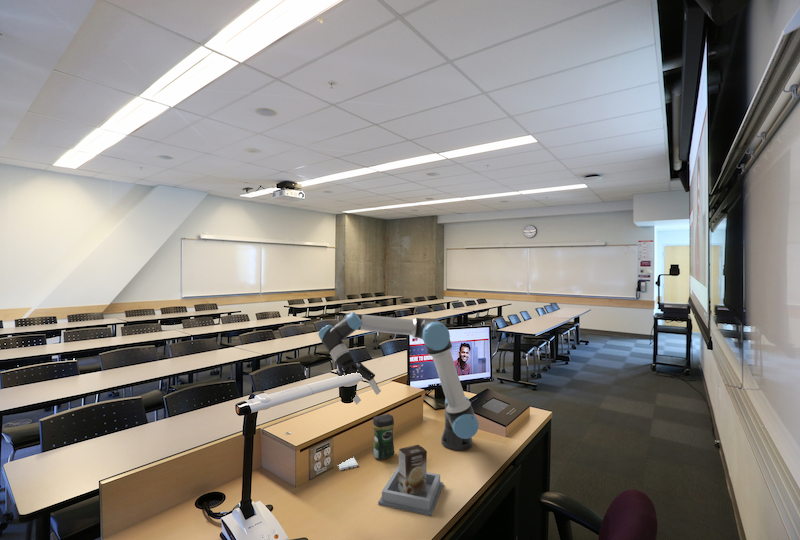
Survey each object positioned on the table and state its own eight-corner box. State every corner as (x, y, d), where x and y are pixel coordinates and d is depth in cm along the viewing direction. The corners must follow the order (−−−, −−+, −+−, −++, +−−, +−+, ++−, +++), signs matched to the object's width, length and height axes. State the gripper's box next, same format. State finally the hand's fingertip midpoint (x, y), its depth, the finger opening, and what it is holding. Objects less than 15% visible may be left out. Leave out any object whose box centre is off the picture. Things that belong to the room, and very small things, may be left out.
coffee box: (405, 499, 140) (406, 456, 140) (397, 490, 146) (398, 448, 145) (426, 492, 144) (427, 450, 144) (418, 483, 150) (418, 443, 150)
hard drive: (333, 454, 173) (340, 468, 161) (350, 451, 176) (358, 463, 165) (333, 458, 173) (340, 471, 161) (350, 454, 176) (358, 467, 165)
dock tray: (396, 475, 157) (396, 465, 157) (443, 484, 151) (443, 473, 151) (378, 504, 138) (378, 492, 138) (431, 516, 132) (431, 503, 132)
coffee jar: (388, 449, 180) (388, 410, 180) (396, 456, 173) (396, 416, 173) (370, 454, 175) (370, 414, 175) (377, 462, 168) (378, 420, 168)
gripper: (356, 356, 177) (381, 394, 169) (316, 368, 156) (344, 412, 148) (364, 346, 174) (391, 384, 166) (326, 357, 153) (354, 401, 145)
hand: (369, 397), depth 157 cm, fingers open, 13 cm apart
